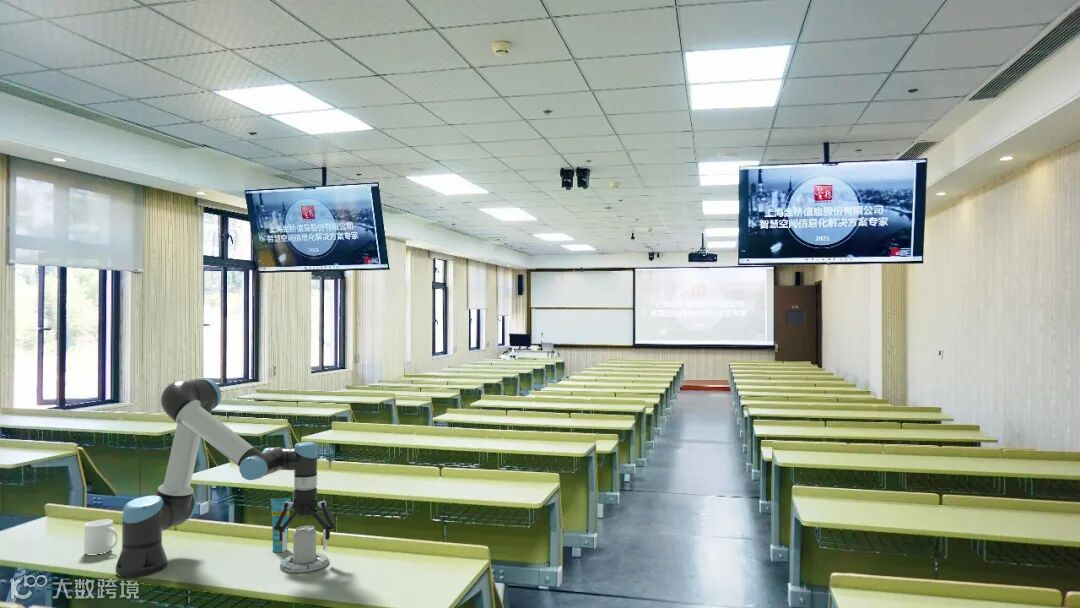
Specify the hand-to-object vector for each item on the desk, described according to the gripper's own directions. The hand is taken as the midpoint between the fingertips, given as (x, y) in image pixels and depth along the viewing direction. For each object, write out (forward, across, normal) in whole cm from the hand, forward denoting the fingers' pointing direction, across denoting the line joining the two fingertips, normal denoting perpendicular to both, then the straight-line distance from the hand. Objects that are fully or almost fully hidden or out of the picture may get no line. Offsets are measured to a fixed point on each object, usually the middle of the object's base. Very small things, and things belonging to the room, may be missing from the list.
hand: (304, 549), depth 233 cm
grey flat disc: (+5, 0, 0) cm, 5 cm away
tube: (+6, -13, +16) cm, 21 cm away
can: (+5, 0, 0) cm, 5 cm away
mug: (+6, -77, +19) cm, 80 cm away
